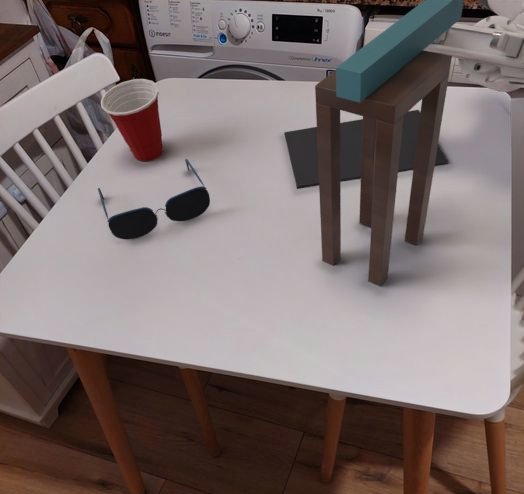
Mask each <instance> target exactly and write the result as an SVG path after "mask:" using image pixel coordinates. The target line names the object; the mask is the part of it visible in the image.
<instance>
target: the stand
mask: <svg viewBox="0 0 524 494" xmlns="http://www.w3.org/2000/svg"><path fill="white" fill-rule="evenodd" d="M452 59H453V57H452V56H449V55H444V54H439V53H434V52H429V51H424V50H423V51H422V52H420V53H419V54H418V55H417V56H416V57H414V58H413V59H412V60H411V61H410V62H408V63H407V64H406V65H405V66H404V67H402V68H401V69H400V70H399V71H398V72H396V73H395V74H394V75H393V76H392V77H390V78H389V79H388V80H387V81H386V82H384V83H383V84H382V85H381V86H380V87H378V88H377V89H376V90H375V91H374V92H372V93H371V94H370V95H369V96H368V97H367V98H365V99H364V100H363V101H362V102H361V103H359V102H355V101H351V100H348V99H344V98H340V97H337V96H336V69H335V70H334V71H332V72H331V73H330V74H329V75H327V76H326V77H325V78H323V79H322V80H320V81H319V82H318V83H317V84H315V85H314V86H315V87H314V92H315V93H314V94H315V115H316V117H315V118H316V119H315V120H316V127H317V145H318V169H319V185H318V190H319V191H318V193H319V212H320V213H319V214H320V215H319V216H320V236H321V237H320V241H321V260H322V262H325V263H327V264H328V265H331V266H334V265H335V264H337V262H338V261H339V260H340V259H341V257H342V253H341V251H342V250H341V249H342V247H341V246H342V245H341V244H342V237H341V234H342V233H341V231H342V229H341V222H342V221H341V220H342V219H341V215H342V212H341V211H342V210H341V209H342V208H341V207H342V206H341V203H342V202H341V200H342V199H341V196H342V195H341V191H342V190H341V181H340V123H341V111H343V112H347V113H349V114H354V115H357V116H361V117H362V119H363V128H362V158H361V178H360V189H359V190H360V191H359V193H360V194H359V218H358V219H359V220H358V221H359V222H358V224H360V225H363V226H365V227H368V228H370V242H369V257H368V258H369V260H368V262H369V263H368V279H367V282H370V283H371V284H373V285H376V286H378V287H381V286H382V285H383V284H384V283H385V282H386V281H387V279H388V277H389V268H390V257H391V247H392V239H393V237H392V236H393V226H394V216H395V209H396V208H395V206H396V197H397V187H398V186H397V185H398V176H399V172H398V167H399V157H400V146H401V136H402V126H403V116H404V115H405V114H406V113H407V112H408V111H411V110H412V109H413V108H414V107H415V106H416V105H417V104H418V103H419V102H420V101H421V105H420V111H419V112H420V120H419V129H418V137H417V145H416V153H415V161H414V169H413V170H412V178H411V186H410V192H409V193H410V194H409V203H408V209H407V218H406V226H405V234H404V242H406V243H408V244H411V245H413V246H418V244H419V243H420V242H421V241H422V240H423V239H424V235H425V234H424V233H425V228H426V221H427V215H428V209H429V202H430V196H431V191H432V185H433V177H434V171H435V167H436V166H435V160H436V153H437V147H438V145H439V140H440V134H441V126H442V122H443V116H444V109H445V102H446V96H447V90H448V84H449V78H450V71H451V66H452V65H451V64H452Z"/></svg>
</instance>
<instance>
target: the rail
mask: <svg viewBox="0 0 524 494" xmlns="http://www.w3.org/2000/svg"><path fill="white" fill-rule="evenodd" d="M464 1H465V0H422V2H420V3H419V4H417V5H416V6H415V7H413V9H411V10H410V11H408V12H407V13H405V15H403V16H402V17H401V18H399V19H398V20H396V21H395V22H394V23H392V24H391V25H390V26H389V27H388V28H386V29H385V30H383V31H382V32H381V33H379V34H378V35H377V36H376V37H374V38H372V39H371V40H370V41H369V42H367V44H365V45H364V46H363V47H361V48H360V49H358V50H357V51H356V52H354V53H353V54H352V55H350V56H349V57H348V58H347V59H345V60H344V61H343V62H341V63H339V65H337V66H336V67H335V70H336V96H337V97H340V98H344V99H348V100H351V101H355V102H359V103H361V102H362V101H363V100H364V99H365V98H367V97H368V96H369V95H370V94H371V93H372V92H374V91H375V90H376V89H377V88H378V87H380V86H381V85H382V84H383V83H384V82H386V81H387V80H388V79H389V78H390V77H392V76H393V75H394V74H395V73H396V72H398V71H399V70H400V69H401V68H402V67H404V66H405V65H406V64H407V63H408V62H410V61H411V60H412V59H413V58H414V57H416V56H417V55H418V54H419V53H420V52H422V51H423V50H424V49H425V48H426V47H428V46H429V45H430V44H431V43H432V42H434V41H435V40H436V39H437V38H438V37H440V36H441V35H442V34H443V33H444V32H446V31H447V30H448V29H449V28H450V27H451V26H453V25H454V24H455V23H458V22H460V20H461V19H462V14H463V7H464Z"/></svg>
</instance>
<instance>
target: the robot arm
mask: <svg viewBox="0 0 524 494" xmlns="http://www.w3.org/2000/svg"><path fill="white" fill-rule="evenodd" d="M475 1H476V2H477V3H478V4H479V5H481V6H482V7H484V8H485V9H487V10H488V11H490V12H492V13H495V14H496V15H492V16H491V15H490V16H488V17H485V18H483V19H481V20H479V21H478V22H476V23H475V24H474V25H473V24H466V23H461V22H460V23H459V22H456V23H455V24H454V25H453V26H451V27H450V28H449V29H448V30H447V31H446V32H444V33H443V34H442V35H441V36H440V37H438V38H437V39H436V40H435V41H434V42H432V43H431V44H430V45H429V46H428V47H426V48H425V49H424V51H429V52H434V53H439V54H444V55H449V56H452V59H453V58H454V59H457V62H458V66H459V69H460V72H461V73H462V75H463V76H464V78H466V79H467V80H469V81H470V82H472V83H474V84H477V85H478V86H479V85H480V86H482V87H485V88H487V89H488V90H492V91H496V92H499V93H510V92H514V91H516V90H519V89H521V88H523V87H524V0H475Z"/></svg>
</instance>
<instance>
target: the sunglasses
mask: <svg viewBox="0 0 524 494" xmlns="http://www.w3.org/2000/svg"><path fill="white" fill-rule="evenodd" d="M184 160H185V165H186V168H187V171H188V172H189V171H190V169H191V171H192V172H193V174H194V175H195V177H196V178H197V179H198V181H199V183H201V185H202V186H195V187H193V188H190V189H188V190H186V191H183V192H181V193H178V194H176V195H174V196H171V197H170V198H168V199H167V201H166V202H165V204H164V207H165V208H158V209H157V210H156V211H155V212H154V210H153V209H152V208H150V207H147V206H146V207H145V206H144V207H138V208H134V209H131V210H127V211H123V212H120V213H116V214H114V215H112V216H110V217H109V216H108V212H107V208H106V205H105V201H104V200H105V197H104V195H103V193H102V190H101V188H100V187H97V192H98V195H99V198H100V201H101V205H102V209H103V211H104V214H105V217H106V219H107V224H108V229H109V230H110V233H111V234H112V235H113V236H114V237H115V238H117V239H119V240H120V239H121V240H125V241H126V240H127V241H128V240H135V239H138V238H142V237H144V236H146V235H148V234H149V233H151V232H152V231H153V230H154V229H156V228H157V226H158V221H159V217H158V214H157V213H158V211H160V210H163V211H164V214H165V216H166V217H167V218H168V219H169V220H170V221H173V222H188V221H191V220H194V219H196V218H198V217H199V216H201V215H202V214H204V213H205V212H206V211H207V209H208V208H209V206H210V204H211V197H210V193H209V190H208V189H207V187H206V186H205V184H204V183H203V181H202V179H201V178H200V176H199V175H198V173H197V171H196V170H195V168H194V167H193V165H192V164H191V162H190V160H189V159H187V158H186V159H184Z"/></svg>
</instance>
